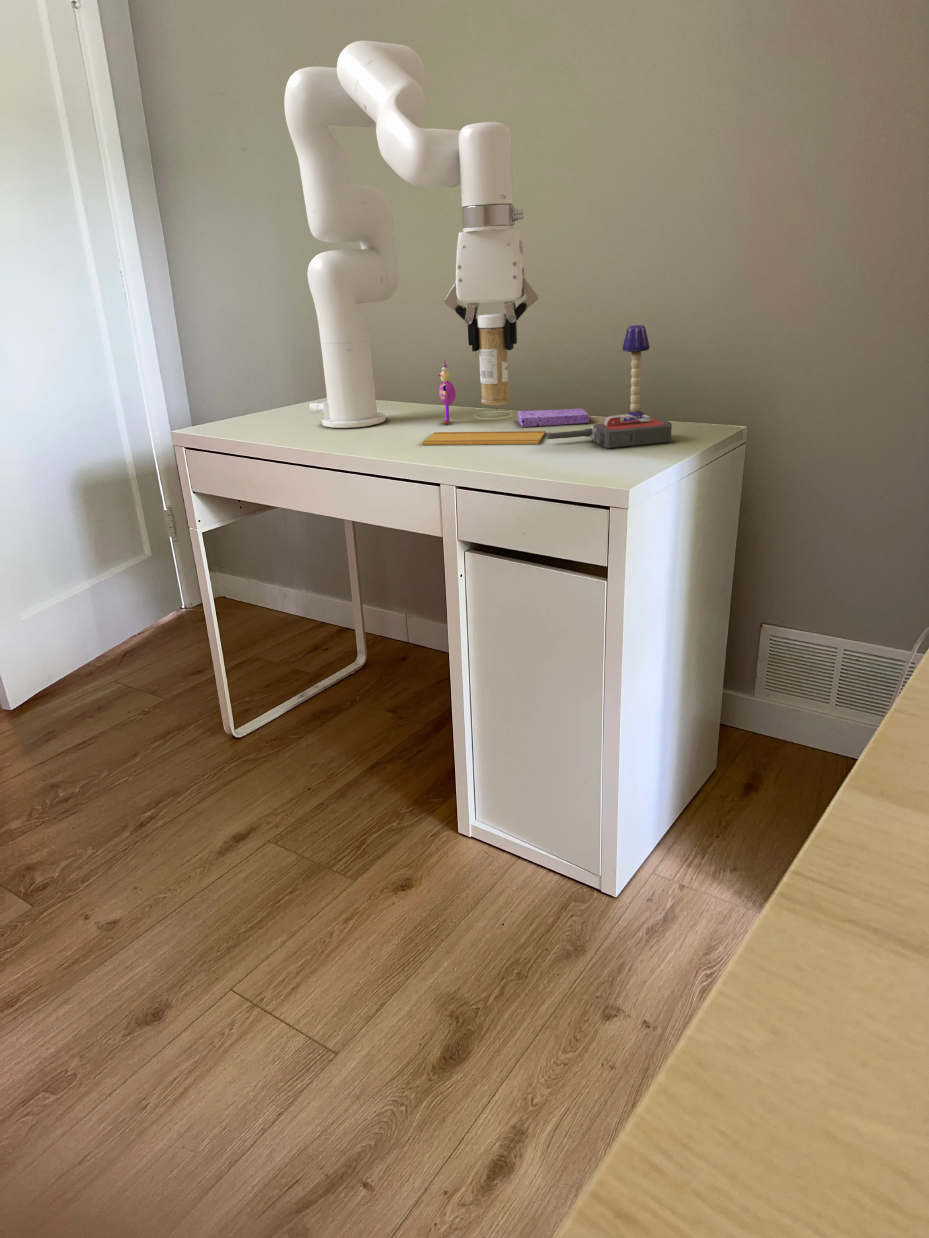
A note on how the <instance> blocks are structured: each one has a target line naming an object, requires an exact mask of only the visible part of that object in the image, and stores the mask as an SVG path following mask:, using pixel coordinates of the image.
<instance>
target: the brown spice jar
mask: <svg viewBox="0 0 929 1238" xmlns="http://www.w3.org/2000/svg"><path fill="white" fill-rule="evenodd" d="M507 318H508V317H507V313H506V312H505V313H504V312H492V313H491V312H489V313H488V312H487V313H482V314H477V317H476V319H477V327H478V328H479V329H478V331H479V350H478V356H479V357H478V358H479V377H480V378H479V379H480V388H481V389H480V390H481V400H480V402H481V404H482V405H485V406H501V405H506V404H508V403H510V396H509V370H508V369H509V367H508V366H509V365H508V350H506V341H505V324H506V323H507Z"/></svg>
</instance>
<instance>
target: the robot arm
mask: <svg viewBox="0 0 929 1238" xmlns="http://www.w3.org/2000/svg"><path fill="white" fill-rule="evenodd" d="M424 66H425V65H424V64H423V61H422V59H421V57H420V56H419V54H418V53H417V52H416V51H415V50H414V49H413V48H411V47H410V46H407V45H404V44H397V43H390V42H383V41H382V42H381V41H374V40H357V41H354V42H351V43H349V44H348V45H346V46H345V47H344V48H343V49H342V50H341V52H340V53H339V56H338V58H337V61H336V67H331V66H330V67H329V66H307V67H302V68H299V69H297V70H295V71H294V72H293V73H292V74H291V75H290V76H289V78H288V80H287V83H286V85H285V90H284V98H283V99H284V101H283V102H284V104H283V105H284V117H285V122H286V126H287V130H288V132H289V136H290V139H291V141H292V144H293V147H294V150H295V153H296V156H297V161H298V165H299V171H300V179H301V185H302V193H303V199H304V205H305V213H306V218H307V222H308V227H309V230H310V233H311V235H312V236H313V237H314V239H316V240H318V241H320V242H323V243H356V242H359V244H360V247H361V248H358V249H357V248H356V249H353V248H351V249H349V248H348V249H333V250H326V251H322V252H320V253H318V254H316V255H315V256H314V257H313V258H311V260H310V262H309V264H308V266H307V273H306V274H307V282H308V286H309V291H310V294H311V297H312V301H313V304H314V308H315V314H316V318H317V325H318V331H319V340H320V348H321V356H322V366H323V374H324V383H325V390H326V391H325V392H326V400H324V401H322V402H321V403H320V402H310V403H309V411H310V413H311V414H322V415H324V416H323V418H322V419H321V425H322V426H324V427H326V428H333V429H352V428H363V427H369V426H375V425H378V424H382V423H384V422H385V421H386V414H385V413H383V412H380V411H378V410H377V408H378V407H377V398H376V389H375V387H376V386H375V377H374V367H373V366H374V365H373V355H372V345H371V332H370V328H369V324H368V322H367V319H366V318H365V317H364V315H363V313H362V312H361V311H360V309H359V307H358V306H357V305H359V304H368V303H379V302H386V301H388V300H390V299H391V298H393V296H394V295H396V292H397V290H398V286H399V265H398V256H397V249H396V248H397V247H396V239H395V231H394V222H393V216H392V214H393V213H392V210H391V206H390V204H389V201H388V200H387V198H386V196H385V193H383V192H382V191H381V190H380V189H379V188H378V187H375V186H372V185H367V184H366V185H365V184H352V182H351V180H350V177H349V169H348V160H347V157H346V154H345V151H344V149H343V148H342V146H341V144H340V142H339V141H338V139H337V137H335V135H334V134H333V133H332V132H331V130H330V129H329V126H337V127H338V126H341V127H357V128H358V127H359V128H374V127H375V135H376V141H377V145H378V150H379V153H380V155H381V157H382V159H383V161H385V163H386V164H387V165H388V166H389V167H390V168H391V169H392V170H393V171H394V173H396V175H398V176H399V178H401V179H402V180H403V181H405V182H406V183H408V184H410V185H412V186H415V187H419V188H420V187H424V188H432V187H435V188H439V187H441V188H442V187H443V188H445V187H446V188H460V198H461V217H462V218H461V220H462V221H461V222H462V231H461V232H460V231H459V232H458V237H457V244H456V256H455V257H456V258H455V259H456V260H455V261H456V262H455V282H454V284H453V285H452V287H451V289H450V290H449V292H448V294H447V296H446V297H445V299H444V301H443V302H444V305H445V306H447V307H448V308H449V309H451V310H452V311H453V312H455V313H456V314H457V315H458V316H459V317H460V318H461V319H462V320H463V321H464V323H465V324H467V340H468V341H467V342H468V346H471V351H472V352H477V351H478V352H479V331H478V329H479V328H478V327H477V316H478V311H479V306H480V304H484V303H485V304H486V303H503V306H504V309H505V314H506V315H507V323H506V324H505V341H506V350H507V351H512V350H514V345H517V343H518V327H517V321H519V319H520V318H521V317H522V316H523V314H524V313H525V312H526V311H527V310H528V309H529V308H530V307H531V306H532V305H534V304H535V303H536V302H538V300H539V297H540V296H539V294H538V293H537V291H536V290H535V289H534V288H533V286H532V284H531V283H530V282H529V281H528V280H527V278H526V267H525V256H524V247H523V240H522V235H521V230H520V228H515V225H516V224H515V223H516V222H517V221H518V222H519V220H524V209H523V208H521V209H519V208H516V207H515V205H514V188H513V187H514V184H513V183H514V182H513V181H514V180H513V151H512V148H513V147H512V146H513V145H512V143H513V142H512V133H511V129H510V128H509V126H508V125H507V124H505V123H502V122H498V121H496V122H495V121H483V122H475V123H470V124H467V125H465V126H463V127H462V128H461V129H460V130H459V129H449V128H448V129H447V128H427V127H424V128H423V127H419V126H420V123H421V122H422V121H423V118H424V115H425V112H426V105H427V101H426V95H425V92H424V89H425V86H426V72H425V71H426V70H425V67H424ZM523 297H525V299H523ZM520 299H523V301H522V302H520V303H518V305H517V304H516V301H517V300H520ZM460 302H461V303H464V304H466V307H465V305H462V304H461V303H460Z"/></svg>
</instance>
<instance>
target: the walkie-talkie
mask: <svg viewBox="0 0 929 1238" xmlns="http://www.w3.org/2000/svg"><path fill="white" fill-rule="evenodd" d="M643 417H644V418H643V419H637V418H636V417H634V416H632V415H629V414H627V413H625V414H618V415H607V416H606V417H604V418H603V420H602V423H596V424H594V425H593V424H592V425H590V428H585V429H579V430H569V431H559V432H549V433H547V434H546V438H547V440H558V439H569V438H570V439H571V438H580V437H585V438H590V441H593V442H595V443H596V444H597V445H599V446H602V447H603V448H605V449H615V448H625V447H628V448H629V447H636V446H647V445H648V446H649V445H655V444H656V445H657V444H667V443H669V442H671V441H672V431H673V428H672V427H673V424H672V422H671V421H668V420H667V419H664V418H661V417H657V418H652V416H650V415H647V414H645V415H643ZM624 418H633V419H635V420H633V421H621V419H624ZM636 420H637V421H636Z"/></svg>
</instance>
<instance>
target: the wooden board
mask: <svg viewBox="0 0 929 1238" xmlns="http://www.w3.org/2000/svg"><path fill="white" fill-rule="evenodd" d="M545 435H546V431H545V430H534V431H533V430H529V431H528V430H527V431H526V430H525V431H523V430H522V431H519V430H518V431H517V430H516V431H509V430H508V431H434V432H433V434H431V435H430V436H428V438H426V439H425V440H423V441H422V445H423V446H455V445H457V446H461V445H463V446H466V445H467V446H468V445H469V446H471V445H473V446H474V445H539V444H540V442H541V441H542V439H543V438H544V436H545Z"/></svg>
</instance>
